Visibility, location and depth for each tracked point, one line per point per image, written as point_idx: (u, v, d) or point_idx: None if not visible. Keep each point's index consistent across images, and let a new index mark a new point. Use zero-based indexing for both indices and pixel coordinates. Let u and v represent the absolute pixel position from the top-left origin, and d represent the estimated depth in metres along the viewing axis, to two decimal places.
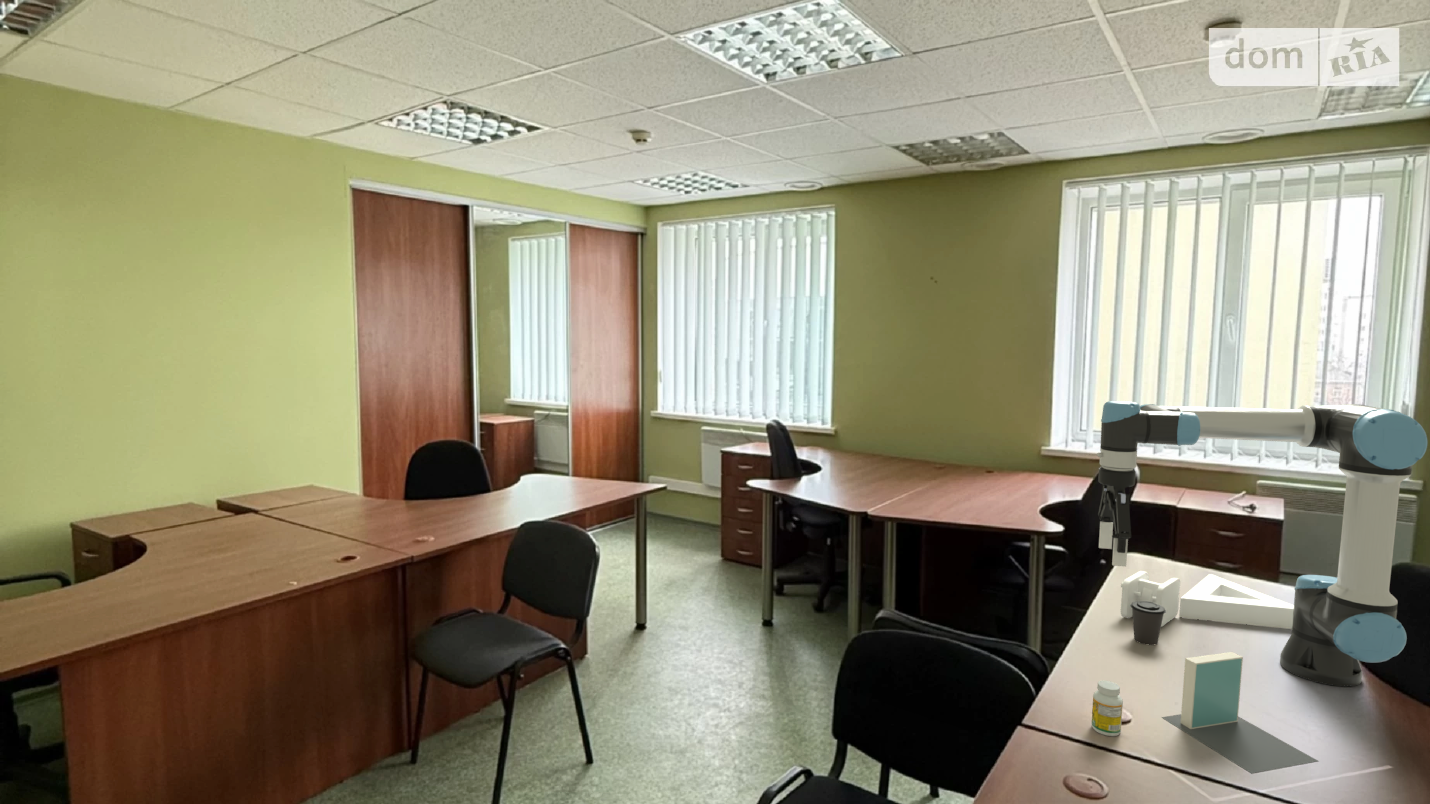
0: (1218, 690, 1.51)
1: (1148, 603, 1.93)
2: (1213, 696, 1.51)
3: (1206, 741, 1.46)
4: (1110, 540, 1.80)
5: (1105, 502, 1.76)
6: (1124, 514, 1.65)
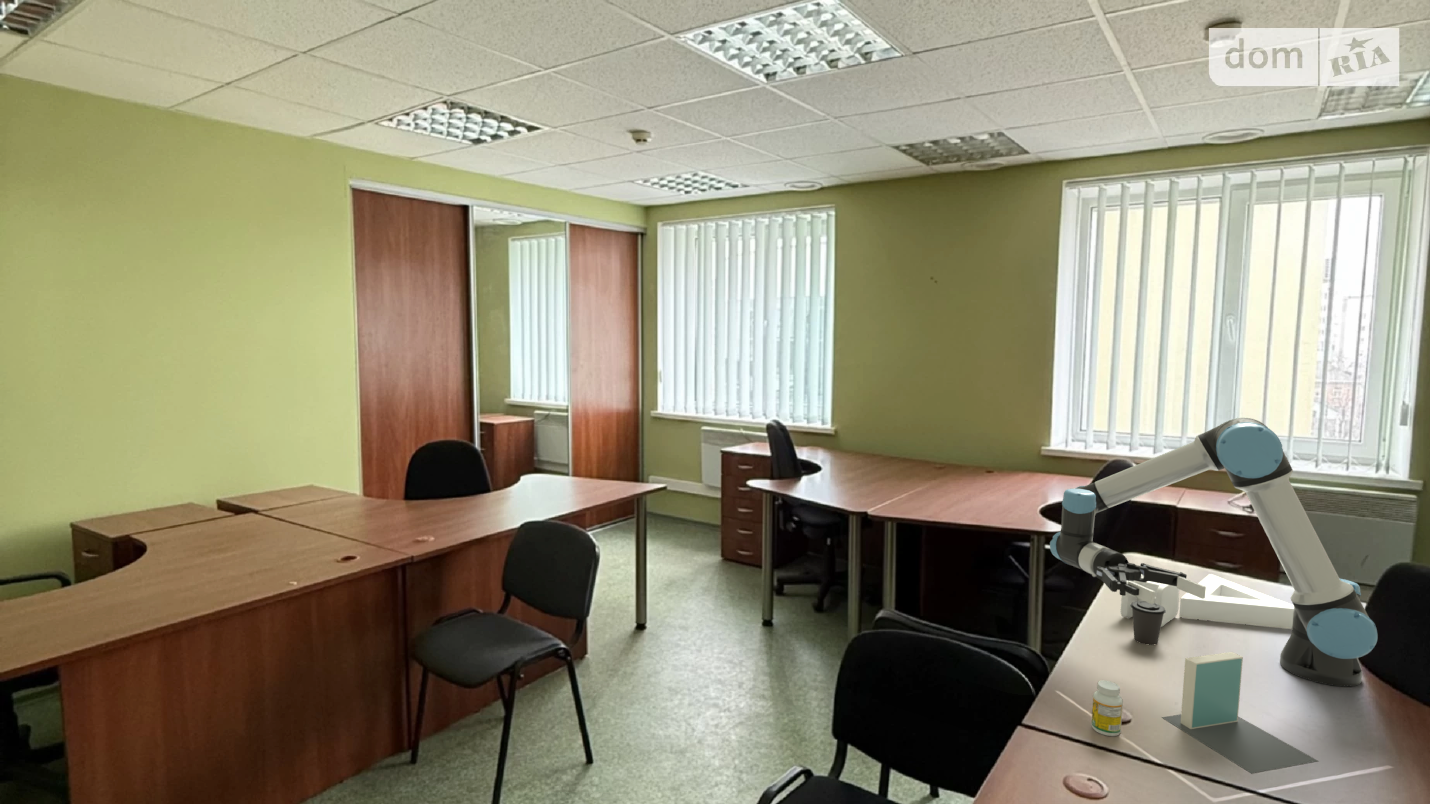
0: (1218, 690, 1.51)
1: (1148, 603, 1.93)
2: (1213, 696, 1.51)
3: (1206, 741, 1.46)
4: (1194, 585, 1.63)
5: (1142, 580, 1.72)
6: (1105, 578, 1.69)
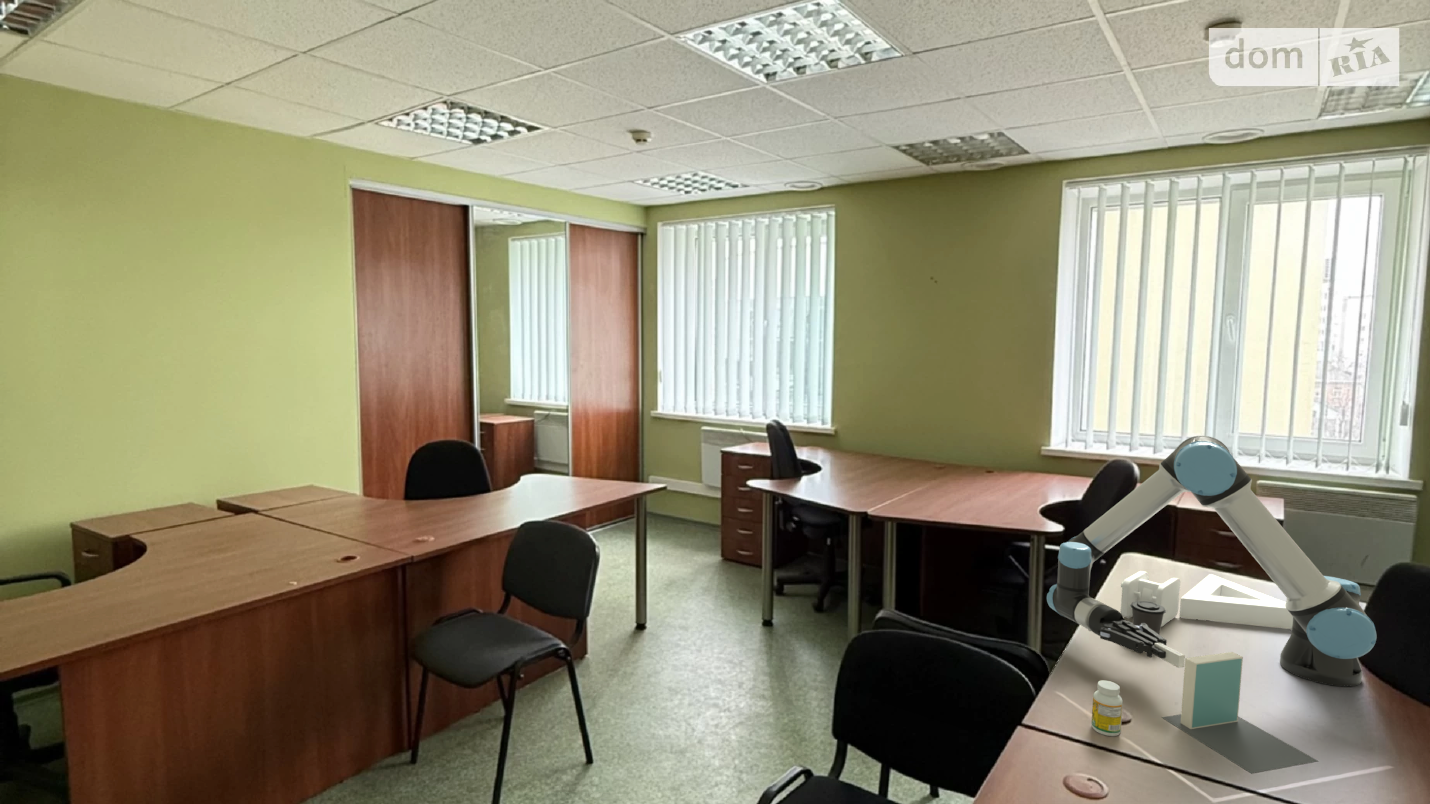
0: (1218, 690, 1.51)
1: (1148, 603, 1.93)
2: (1213, 696, 1.51)
3: (1206, 741, 1.46)
4: None
5: None
6: (1119, 639, 1.70)
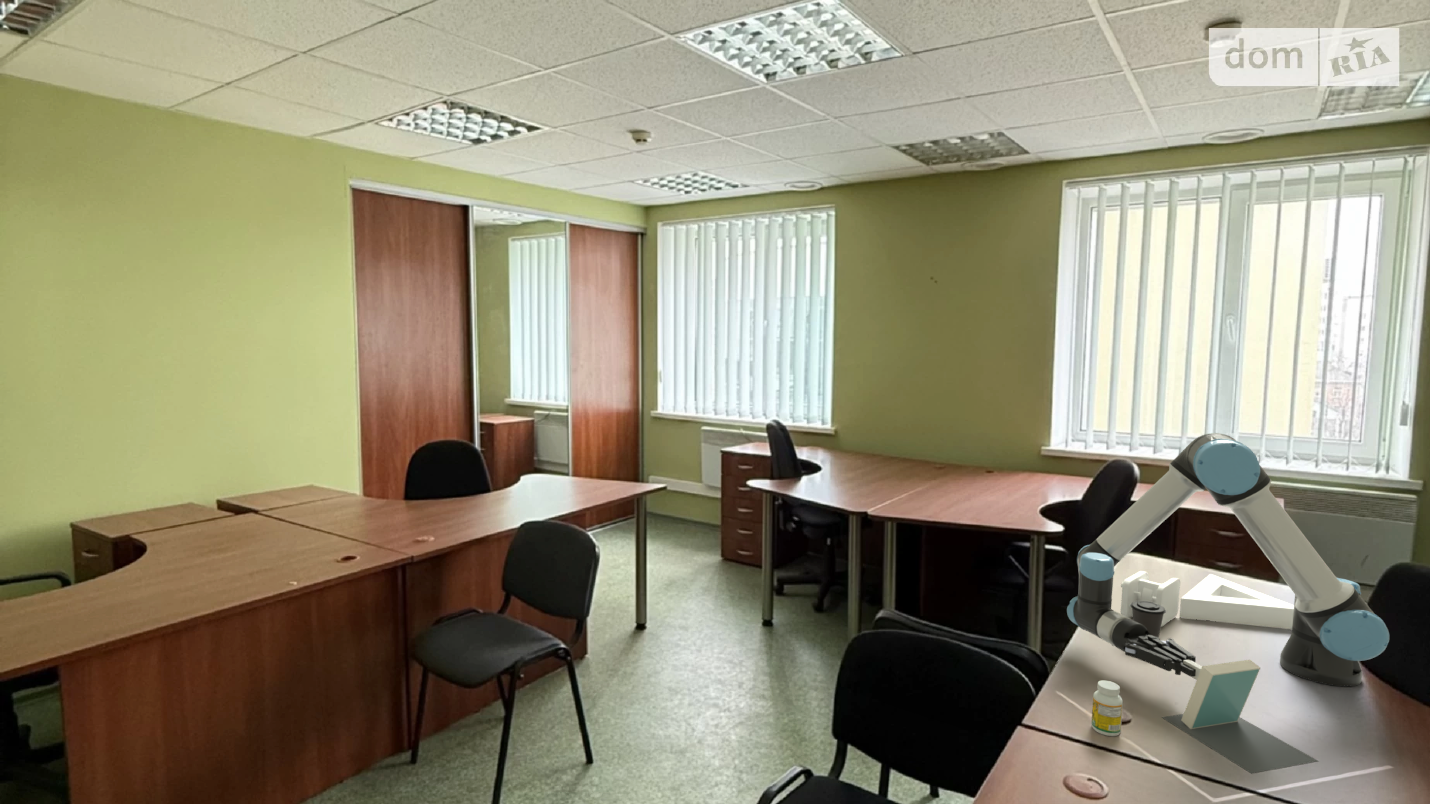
0: (1227, 696, 1.49)
1: (1148, 603, 1.93)
2: (1220, 701, 1.49)
3: (1206, 741, 1.46)
4: None
5: None
6: (1145, 656, 1.62)
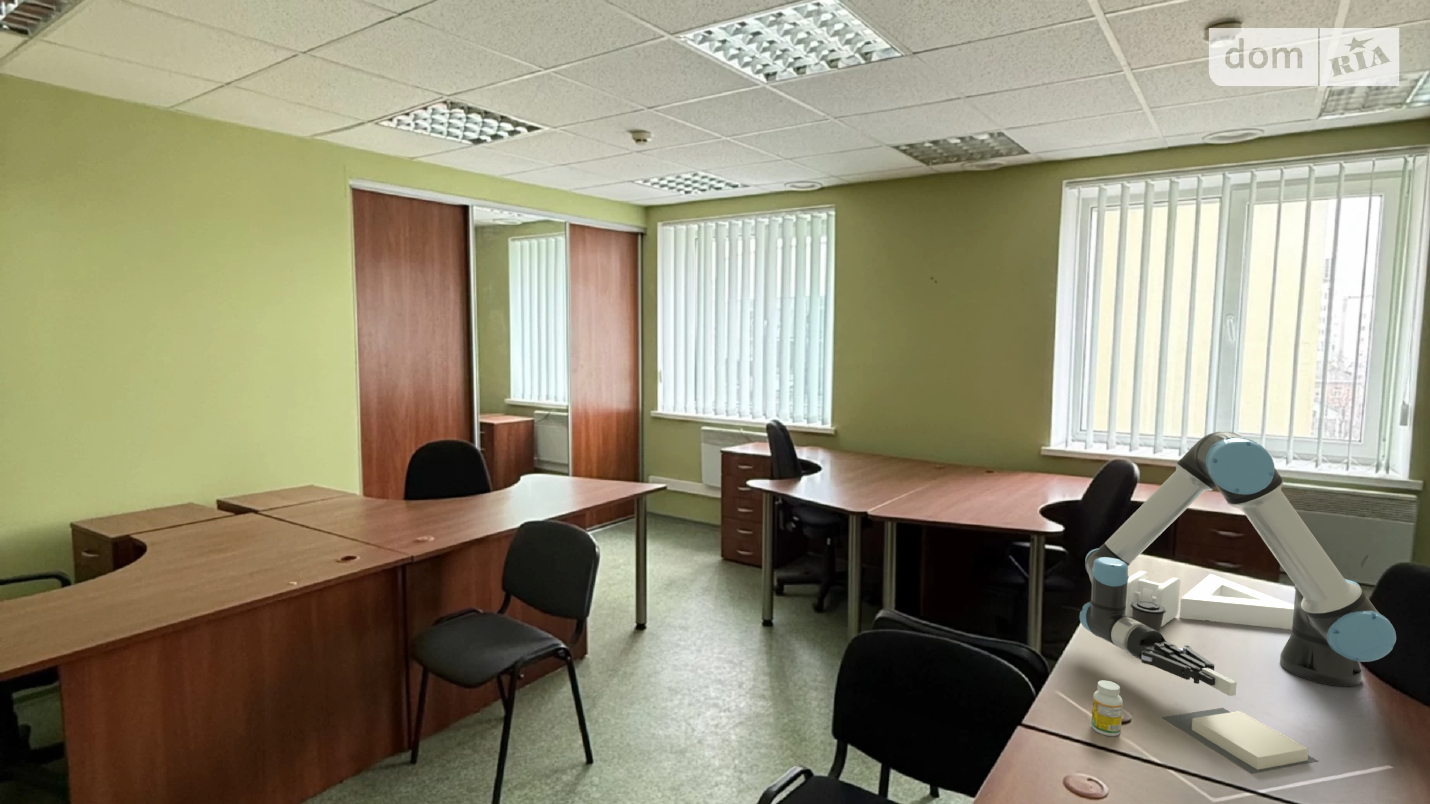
0: None
1: (1148, 603, 1.93)
2: None
3: (1206, 741, 1.46)
4: None
5: None
6: (1163, 664, 1.58)
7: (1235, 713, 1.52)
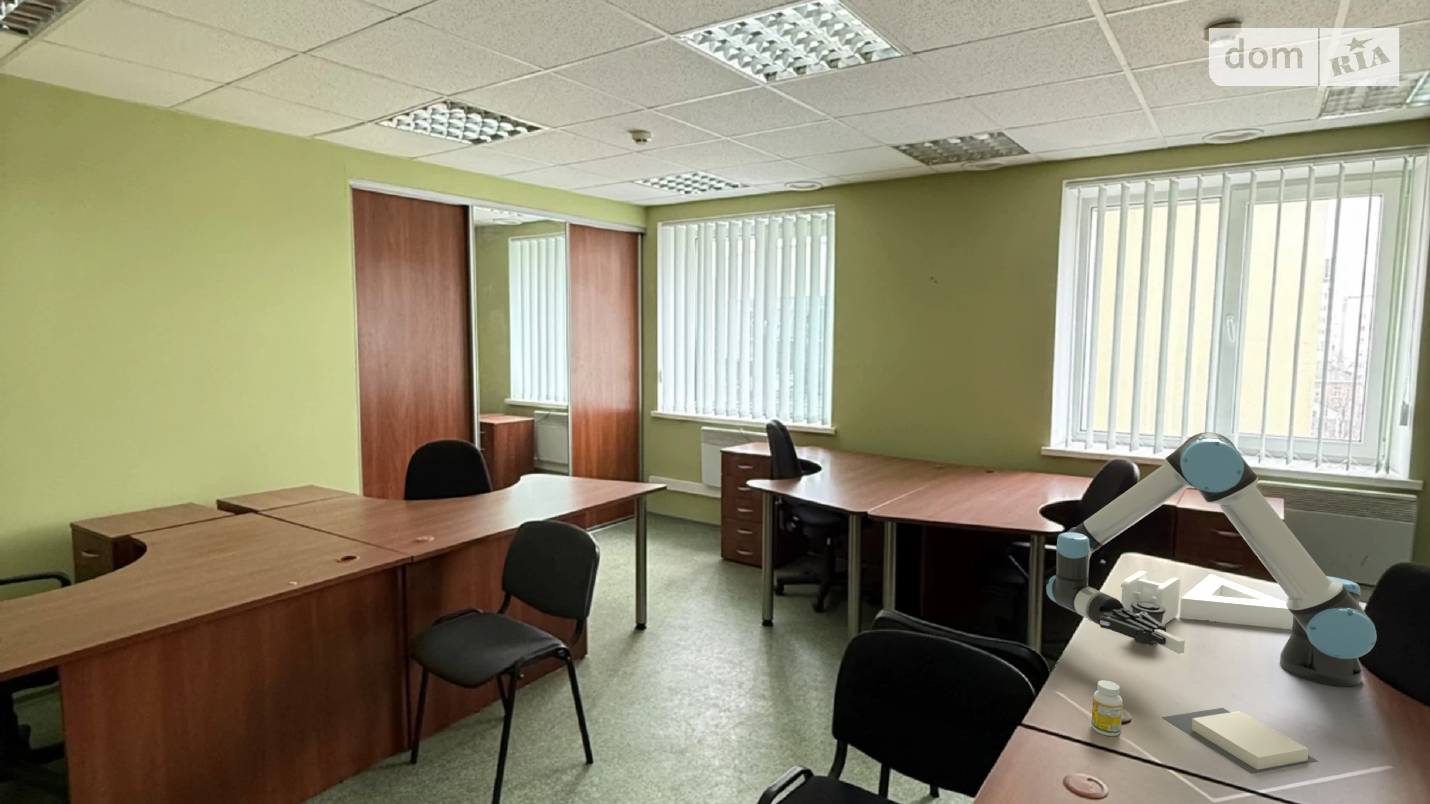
0: None
1: (1148, 603, 1.93)
2: None
3: (1206, 741, 1.46)
4: None
5: None
6: (1119, 627, 1.70)
7: (1235, 713, 1.52)
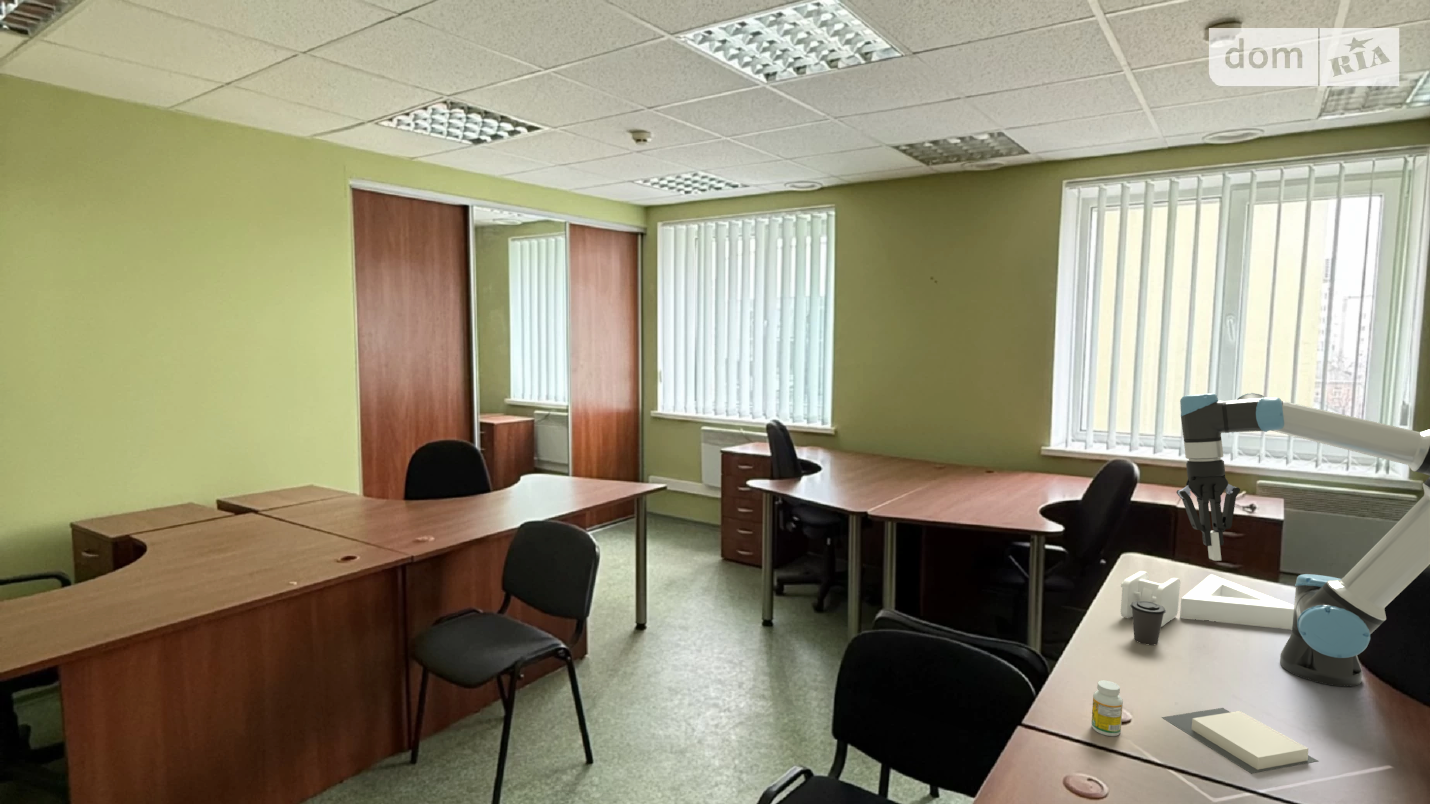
0: None
1: (1148, 603, 1.93)
2: None
3: (1206, 741, 1.46)
4: (1216, 551, 1.73)
5: None
6: (1187, 509, 1.75)
7: (1235, 713, 1.52)
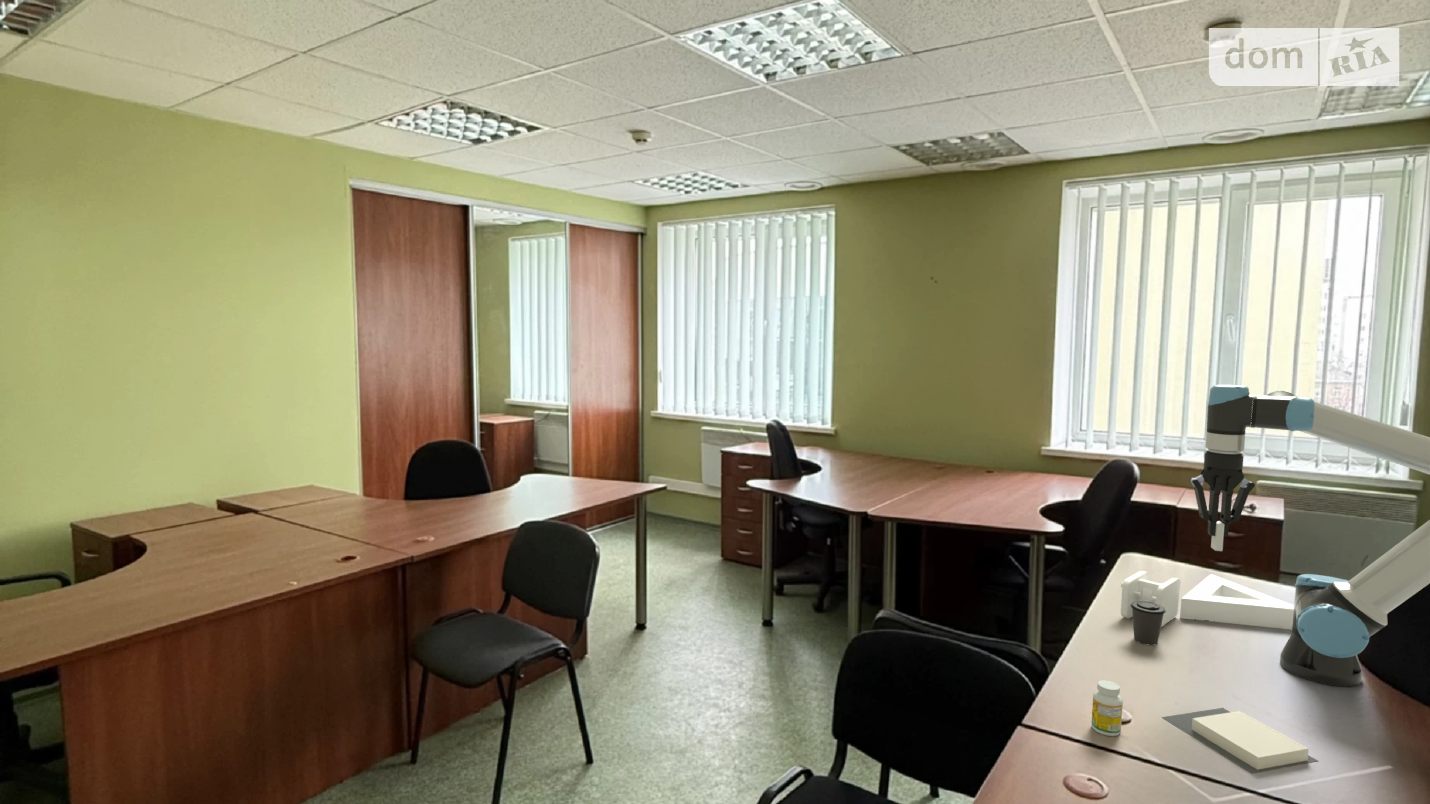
0: None
1: (1148, 603, 1.93)
2: None
3: (1206, 741, 1.46)
4: (1218, 541, 1.74)
5: None
6: (1197, 497, 1.75)
7: (1235, 713, 1.52)
